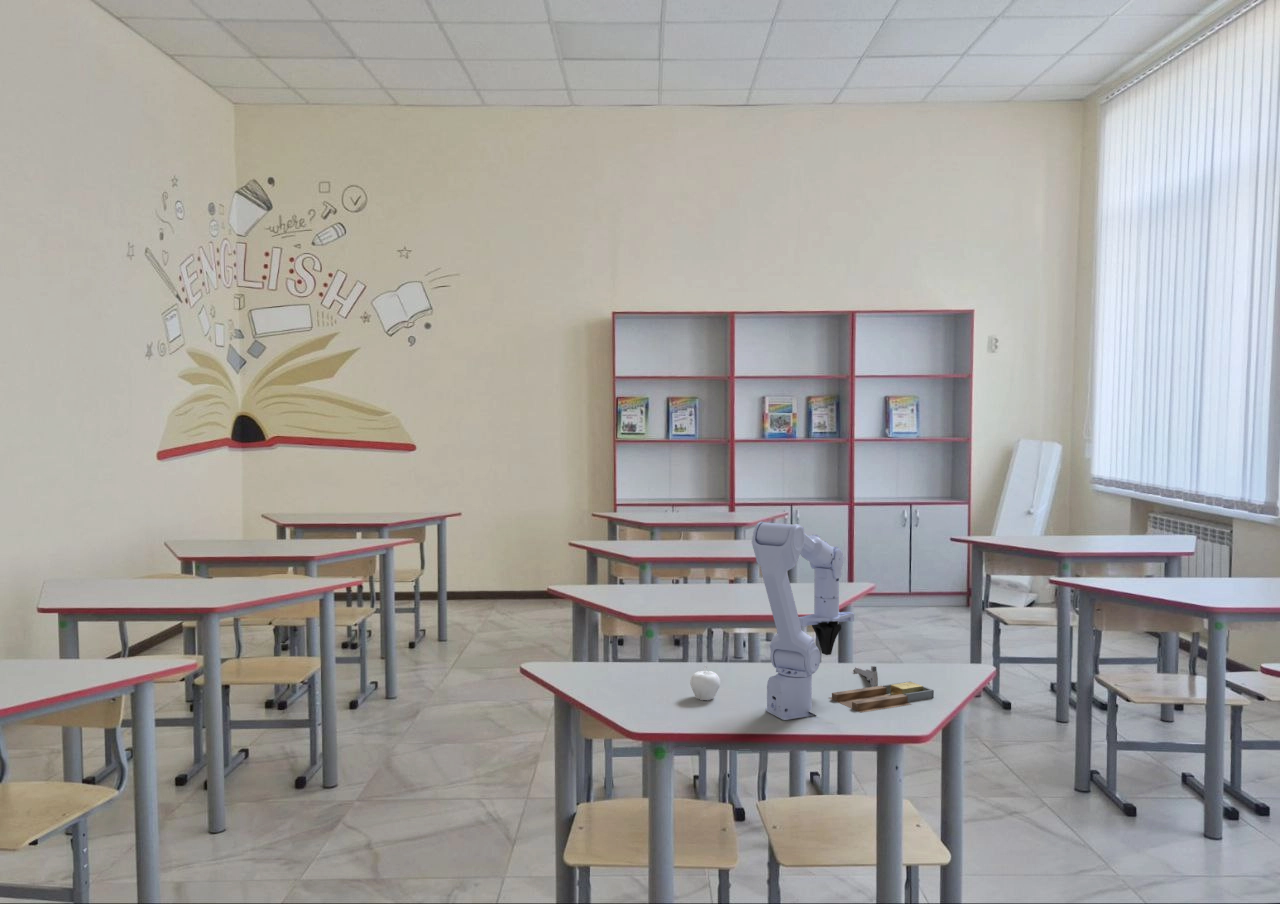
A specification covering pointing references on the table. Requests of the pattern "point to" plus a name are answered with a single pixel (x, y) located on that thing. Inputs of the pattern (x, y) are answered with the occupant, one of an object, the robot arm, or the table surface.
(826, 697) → the table surface
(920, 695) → the tray
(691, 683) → the plain white apple
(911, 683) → the block
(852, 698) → the slot board
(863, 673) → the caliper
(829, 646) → the robot arm
